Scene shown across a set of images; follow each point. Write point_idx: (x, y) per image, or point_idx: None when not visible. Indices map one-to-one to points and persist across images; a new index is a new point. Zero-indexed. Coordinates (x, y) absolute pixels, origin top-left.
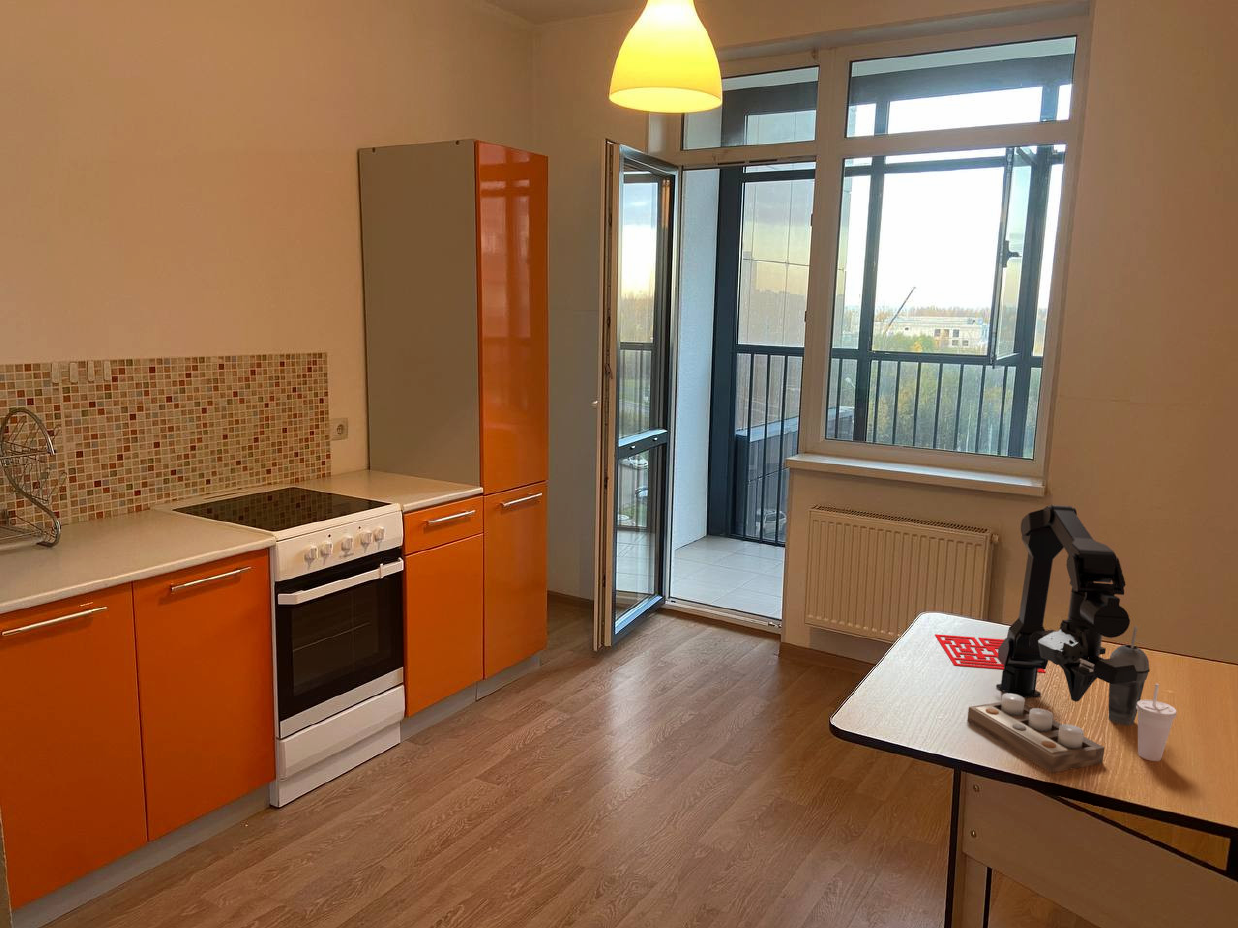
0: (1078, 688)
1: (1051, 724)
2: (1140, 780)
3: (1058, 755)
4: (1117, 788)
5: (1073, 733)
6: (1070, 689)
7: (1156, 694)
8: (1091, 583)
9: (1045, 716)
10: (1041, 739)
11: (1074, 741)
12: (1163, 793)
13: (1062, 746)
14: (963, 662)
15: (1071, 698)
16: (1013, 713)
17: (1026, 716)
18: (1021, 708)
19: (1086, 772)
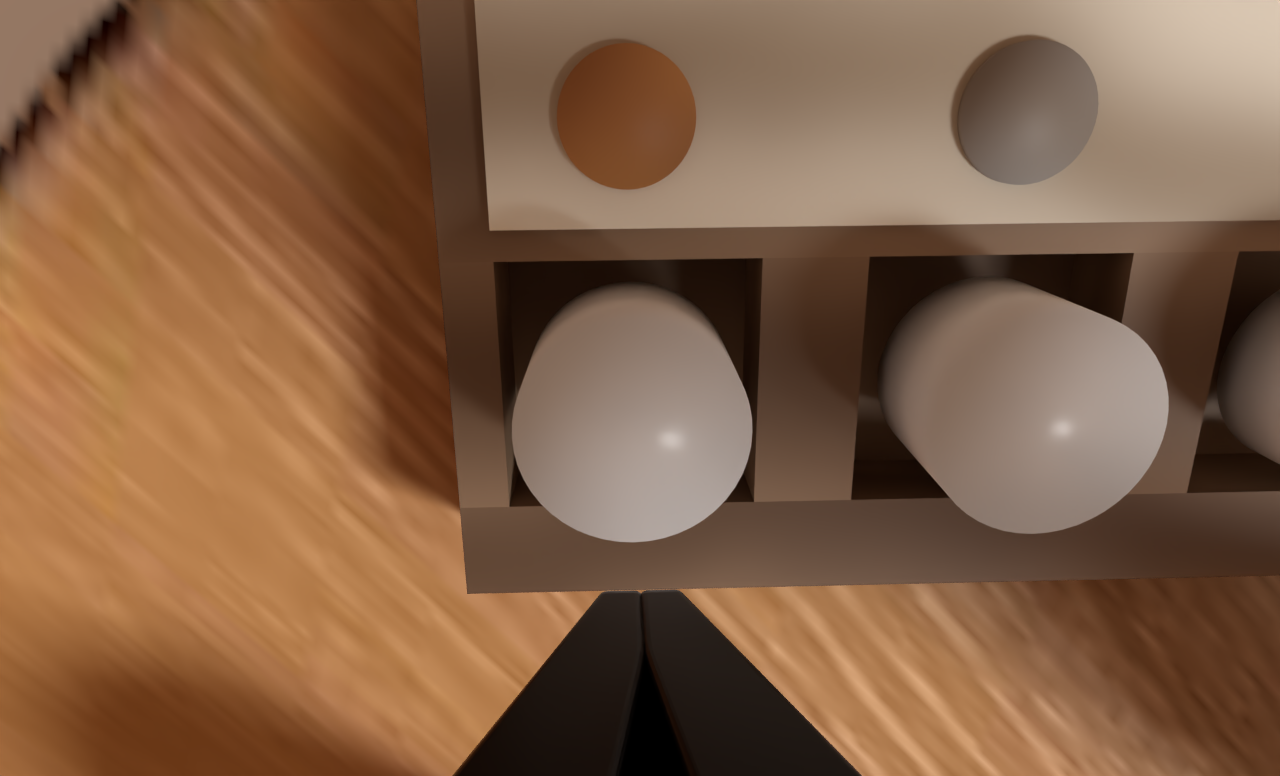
0: (465, 766)
1: (906, 440)
2: (222, 578)
3: (430, 48)
4: (136, 330)
5: (541, 373)
6: (715, 681)
7: None
8: None
9: (967, 402)
10: (740, 135)
11: (531, 358)
12: (40, 581)
13: (576, 247)
14: None
15: (674, 595)
16: (1272, 317)
17: (1169, 398)
18: (1275, 407)
19: (394, 298)
